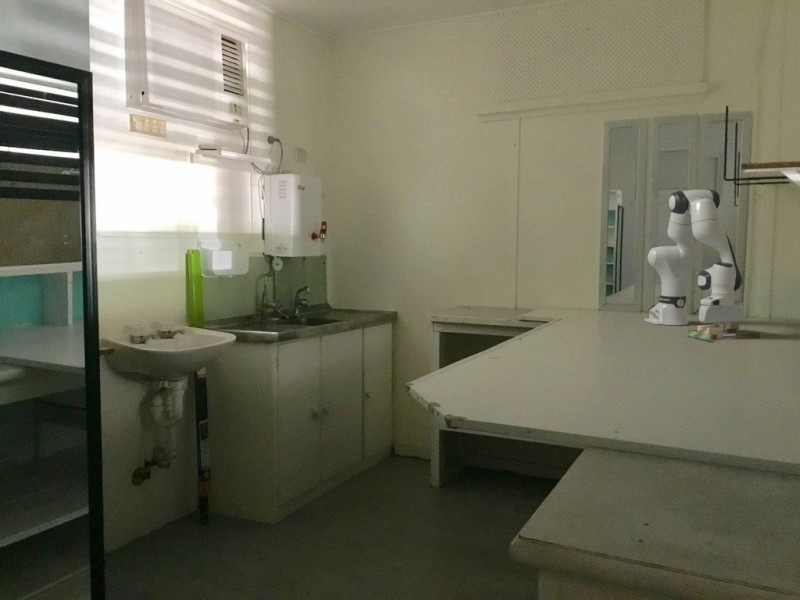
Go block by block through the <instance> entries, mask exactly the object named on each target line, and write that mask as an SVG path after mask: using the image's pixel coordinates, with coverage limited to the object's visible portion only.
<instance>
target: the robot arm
mask: <svg viewBox="0 0 800 600" xmlns="http://www.w3.org/2000/svg"><path fill="white" fill-rule="evenodd" d="M720 203H721V197H720V194H719V192H718V191H716V190H715V189H690V190H677V191H675V192H672V193H671V194H670V196H669V198H668V209H669V210H670V211H671V212H670V216H669V221H668V227H667V230H666V231H667V232H666V233H667V236H668V238H669V239H671V240H672V241H674V242H676V245H673V246H672V245H664V246H663V245H662V246H657V247H656V246H655V247H652V248H651V249H650V250H649V252H648V254H647V261H648V264H649V265H650V266H651V267H652V268H653V269H654V270H655V271H656V272H657V274H658V275H659V278H660V284H661V285H660V286H661V293H660V296H658V297H657V299H658V303H656V305H655V306H653V307H652V308H651V309H649V314H648V315H649V317H648V318H647V317H646V318H644V319H643V320H644V322H647V323H651V324H653V325H665V326H686V325H688V324H689V323H690V321H689V320H688V307H687V305H686V303H687V295H686V291H687V289H686V287H687V282H686V280H685V278H684V277H682V276H681V275H679V274H676V271H675V269H691V268H695V267H699V266H700V265H701V264H702V261H703V252H702V251H701V249H700V248H699V247H698V246H697V245H696V244H695V242H694V240H693V237H694V238H695V240H696V241H698V242H699V243H701V244H704V245H707V246H709V247H711V248H713V249H715V250H716V251H717V252H718V254H719V257H720V261H719V262H715V263H714V264H713V265H712V266H711V267H709V268H706V269H702V270H701V271H700V272H699V273H698V274H697V277H696V284H697V287H698V288H699V289H700V290H701V291H705V292H711V293H710V294H711V295H709V296H707V297H704V298H702V299H701V300H700V303H699V304H701V305H700V307H699V310H698V321H699V322H700V323H703V324H710V323H711V324H714V326H719V327H723V333H725V329H726V327H727V326H728V322H740V323H741V322H743V321H744V320H745V310H744V309H745V308H744V302H743V301H742V300H740V299H735V293H736V291H737V290H739V289H740V287H741V286H742V285H743V276H742V274H741V272H740V269H739V267H738V264H737V260H736V257H735V253H734V250H733V247H732V243H731V241H730V238H729V236H728V234H726V233H725V232H724V231H723V229H722V227H721V224H720V220H719V218H720V217H719V213H718V209H719V207H720ZM722 324H723V325H722Z"/></svg>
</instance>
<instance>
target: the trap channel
mask: <svg viewBox="0 0 800 600" xmlns="http://www.w3.org/2000/svg"><path fill="white" fill-rule="evenodd" d="M697 330H698V329H693V330H690V329H689V330H688V331H687V338H689V339H693V340H698V341H704V342H707V343H715V340H716V341H721V340H724V341H725V340H741V339H743V340H744V339H760V337H761V336H760V335H761V333H760V332H743V333H742V332H741V333H739V332H737V329H736V328H732V329H726V331H725V333H723V338H717V335H710V334H705V333H700V332H697Z"/></svg>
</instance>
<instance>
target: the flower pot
mask: <svg viewBox="0 0 800 600" xmlns="http://www.w3.org/2000/svg"><path fill="white" fill-rule="evenodd" d="M722 325H723V324H722V323H721V326H722ZM740 326H741V322H728V326H727V327H726V329H732V328H736V329H737V333H739V331H740ZM726 329H725V331H726Z"/></svg>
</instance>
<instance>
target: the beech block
mask: <svg viewBox="0 0 800 600" xmlns="http://www.w3.org/2000/svg"><path fill="white" fill-rule="evenodd" d="M696 330H697V332H700V333H705V334H710V335H717V338H723V327H722V326H720V327H719V326H715V325H713V324H711V325H710V324H708V325H705V324H704V325H697V329H696Z"/></svg>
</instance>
